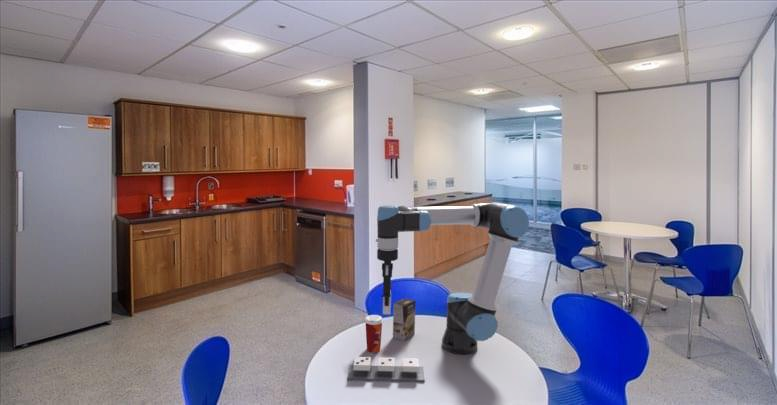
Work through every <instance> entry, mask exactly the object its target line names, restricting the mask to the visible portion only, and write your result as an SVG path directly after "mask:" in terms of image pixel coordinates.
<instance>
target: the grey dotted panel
mask: <svg viewBox="0 0 777 405" xmlns="http://www.w3.org/2000/svg"><path fill="white" fill-rule="evenodd" d="M353 365H354V364H351V365H350V366H349V370H348V374H347V375H348V376H347V381H366V382H367V381H368V382H404V383H405V382H407V383H425V381H426V380H425V371H424V366H419V372H405V371H403V366H402V365H401V366H399V365H398V366H396V365H395V366H394V371H378V365H371V366H370V371H364V370H353Z"/></svg>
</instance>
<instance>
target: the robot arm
mask: <svg viewBox="0 0 777 405" xmlns="http://www.w3.org/2000/svg"><path fill="white" fill-rule="evenodd" d="M376 220H377V225H376V226H377V239H375V242H376V243H377V246H376V247H377V250H376V251H377V252H376V258H377V260H379V261H381V262H382V261H383V262H382V263H381V271H382V274H381V276H382V278H383V281H382V282H383V287H382V289H383V290H382V291H383V292H382V295H380V297H381V298H382V314H383V315H391V311H392V310H391V308H392V290H393V289H394V287H393V286H392V276H393V269H394V263H392V262H394V261H396V260H398V259H399V250H398V248H399V233H403V232H406V233H407V232H425V231H426V232H427V231H429V229H430V227H431V226H448V225H449V226H450V225H452V226H453V225H456V226H457V225H459V226H460V225H470V226H471V227H474V228H476V227H477V228H479V227H480V228H485V229H488V232H487V234H488V237H489V242H488V245H487V249H486V252H485V255H484V258H483V261H482V265H481V269H480V270H479V275H478V278H477V281H476V284H475V287H474V291H473V294H472V293H470V292H468V293H467V292H455V293H450V294H448V296H447V299H446V326H445V330H444V333H443V336H442V338H441V346H442V347H443V349H444V350H446V351H448V352H450V353H453V354H458V355H469V354H472V353H474V352H476V351H477V350H478V342H484V341H487V340H489V339H491V338H493V336H495V334H496V332H497V330H498V327H499V323H498V320H497V318H496V313H497V307H496V304H495V303H496V299H497V296H498V292H499V289H500V287H501V286H500V285H501V282H502V279H503V276H504V272H505V269H506V266H507V262H508V260H509V257H510V254H511V250H512V247H513V246H514V245H515V244H517V243H518V241H519V239H520V237H522V236H524V235H525V234H526V233H527V232H528V229H529V225H530V219H529V216H528V214H527V212H526V210H524V208H522V207H520V206H517V205H514V204H509V203H508V204H507V203H502V202H486V203H472V204H471V205H469V206H468V205H467V206H466V205H465V206H462V205H461V206H456V205H455V206H404V205H398V206H397V205H380V206H379V207H378V208H377V219H376Z"/></svg>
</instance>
